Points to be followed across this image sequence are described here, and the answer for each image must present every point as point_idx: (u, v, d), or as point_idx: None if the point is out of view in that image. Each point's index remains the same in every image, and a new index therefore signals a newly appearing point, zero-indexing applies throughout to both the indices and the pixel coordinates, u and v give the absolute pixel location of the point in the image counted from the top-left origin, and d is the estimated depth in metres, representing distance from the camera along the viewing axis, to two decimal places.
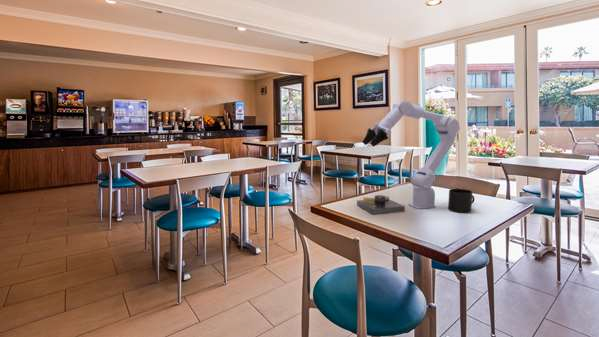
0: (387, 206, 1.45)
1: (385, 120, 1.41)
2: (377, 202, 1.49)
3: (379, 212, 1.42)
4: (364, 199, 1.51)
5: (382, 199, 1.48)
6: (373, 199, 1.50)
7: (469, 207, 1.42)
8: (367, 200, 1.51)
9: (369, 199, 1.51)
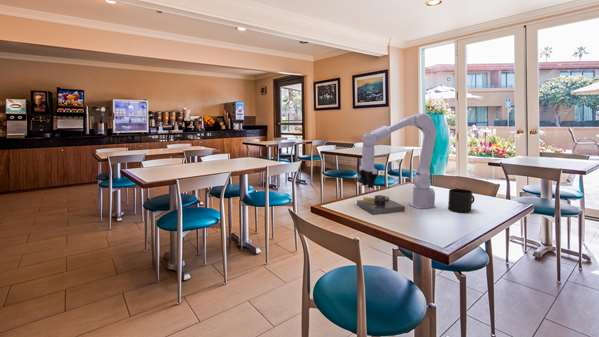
0: (387, 206, 1.45)
1: (365, 161, 1.51)
2: (377, 202, 1.49)
3: (379, 212, 1.42)
4: (364, 199, 1.51)
5: (382, 199, 1.48)
6: (373, 199, 1.50)
7: (469, 207, 1.42)
8: (367, 200, 1.51)
9: (369, 199, 1.51)
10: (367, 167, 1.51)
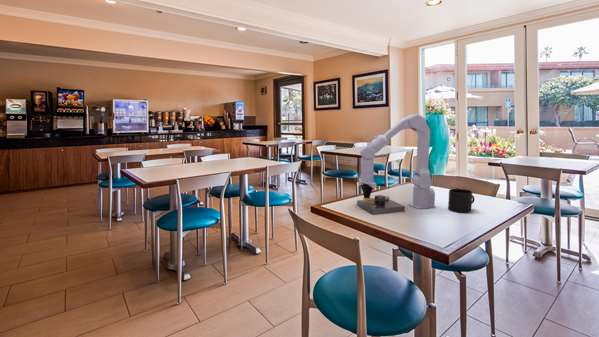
0: (387, 206, 1.45)
1: (364, 174, 1.49)
2: (377, 202, 1.48)
3: (379, 212, 1.42)
4: (364, 199, 1.51)
5: (382, 199, 1.48)
6: (373, 199, 1.50)
7: (469, 207, 1.42)
8: (367, 200, 1.51)
9: (369, 199, 1.51)
10: (366, 180, 1.49)
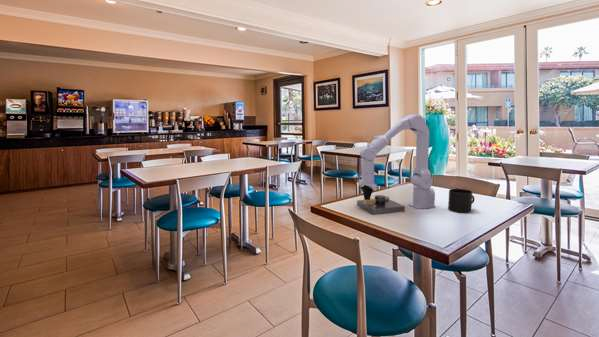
0: (387, 206, 1.45)
1: (364, 176, 1.46)
2: (380, 202, 1.48)
3: (379, 212, 1.42)
4: (366, 201, 1.48)
5: (384, 199, 1.48)
6: (374, 200, 1.49)
7: (469, 207, 1.42)
8: (369, 202, 1.48)
9: (371, 200, 1.48)
10: (366, 182, 1.46)
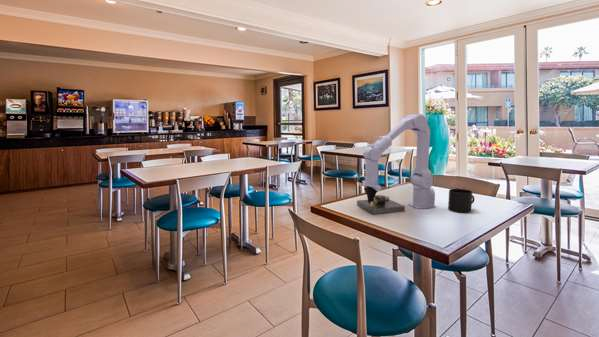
0: (387, 206, 1.45)
1: (368, 177, 1.43)
2: (383, 202, 1.48)
3: (379, 212, 1.42)
4: (373, 203, 1.45)
5: (385, 198, 1.49)
6: (378, 200, 1.48)
7: (469, 207, 1.42)
8: (375, 203, 1.46)
9: (376, 201, 1.46)
10: (370, 183, 1.43)
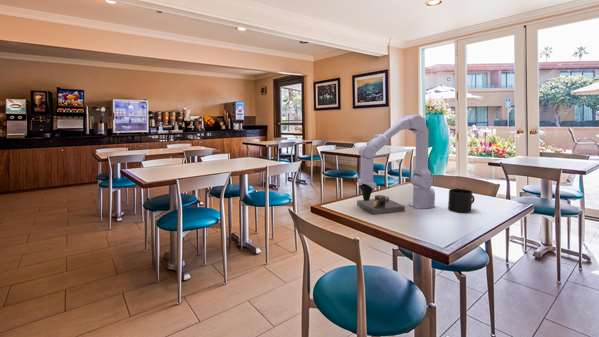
0: (387, 206, 1.45)
1: (363, 174, 1.44)
2: (383, 202, 1.48)
3: (379, 212, 1.42)
4: (376, 203, 1.44)
5: None
6: (379, 201, 1.47)
7: (469, 207, 1.42)
8: (377, 203, 1.45)
9: (378, 202, 1.46)
10: (366, 180, 1.43)
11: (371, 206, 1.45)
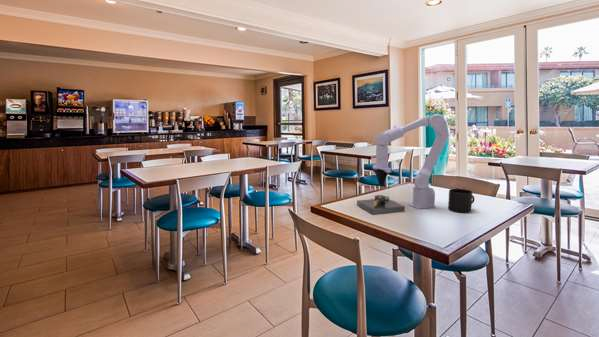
0: (387, 206, 1.45)
1: (379, 160, 1.54)
2: (384, 202, 1.48)
3: (379, 212, 1.42)
4: (376, 203, 1.44)
5: None
6: (379, 201, 1.47)
7: (469, 207, 1.42)
8: (377, 203, 1.45)
9: (378, 202, 1.46)
10: (381, 166, 1.54)
11: (371, 206, 1.45)
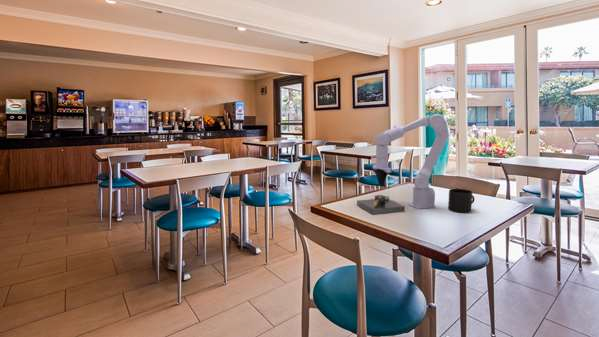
0: (387, 206, 1.45)
1: (379, 160, 1.54)
2: (384, 202, 1.48)
3: (379, 212, 1.42)
4: (376, 203, 1.44)
5: None
6: (379, 201, 1.47)
7: (469, 207, 1.42)
8: (377, 203, 1.45)
9: (378, 202, 1.46)
10: (381, 166, 1.54)
11: (371, 206, 1.45)
